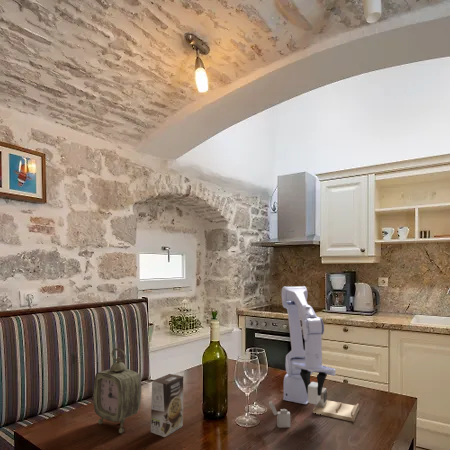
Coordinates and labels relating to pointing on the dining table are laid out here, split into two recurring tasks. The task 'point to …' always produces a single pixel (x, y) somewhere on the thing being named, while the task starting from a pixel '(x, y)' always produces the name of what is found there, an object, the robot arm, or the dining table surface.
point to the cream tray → (335, 408)
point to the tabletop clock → (117, 392)
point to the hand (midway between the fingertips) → (314, 393)
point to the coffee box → (167, 404)
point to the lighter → (281, 416)
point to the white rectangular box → (313, 393)
